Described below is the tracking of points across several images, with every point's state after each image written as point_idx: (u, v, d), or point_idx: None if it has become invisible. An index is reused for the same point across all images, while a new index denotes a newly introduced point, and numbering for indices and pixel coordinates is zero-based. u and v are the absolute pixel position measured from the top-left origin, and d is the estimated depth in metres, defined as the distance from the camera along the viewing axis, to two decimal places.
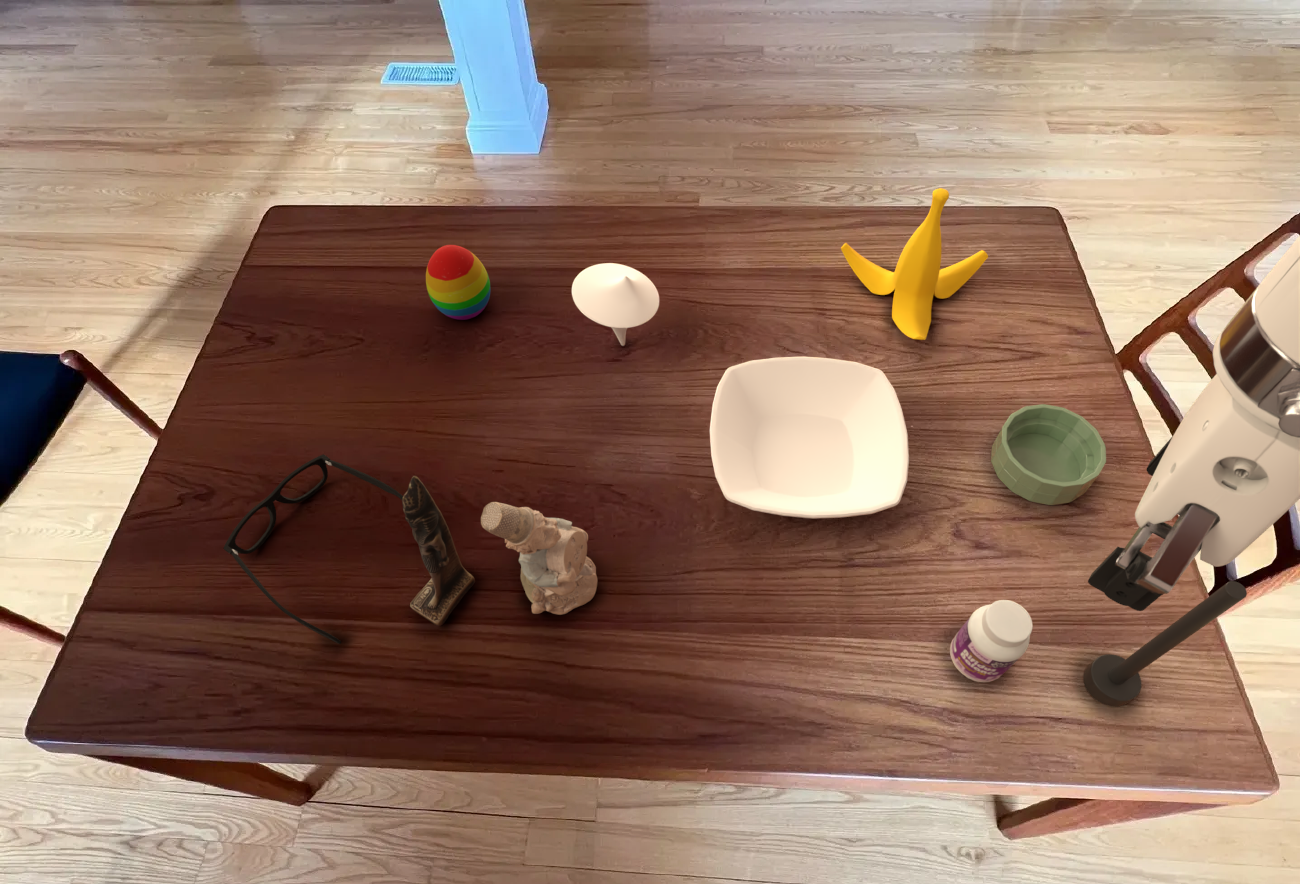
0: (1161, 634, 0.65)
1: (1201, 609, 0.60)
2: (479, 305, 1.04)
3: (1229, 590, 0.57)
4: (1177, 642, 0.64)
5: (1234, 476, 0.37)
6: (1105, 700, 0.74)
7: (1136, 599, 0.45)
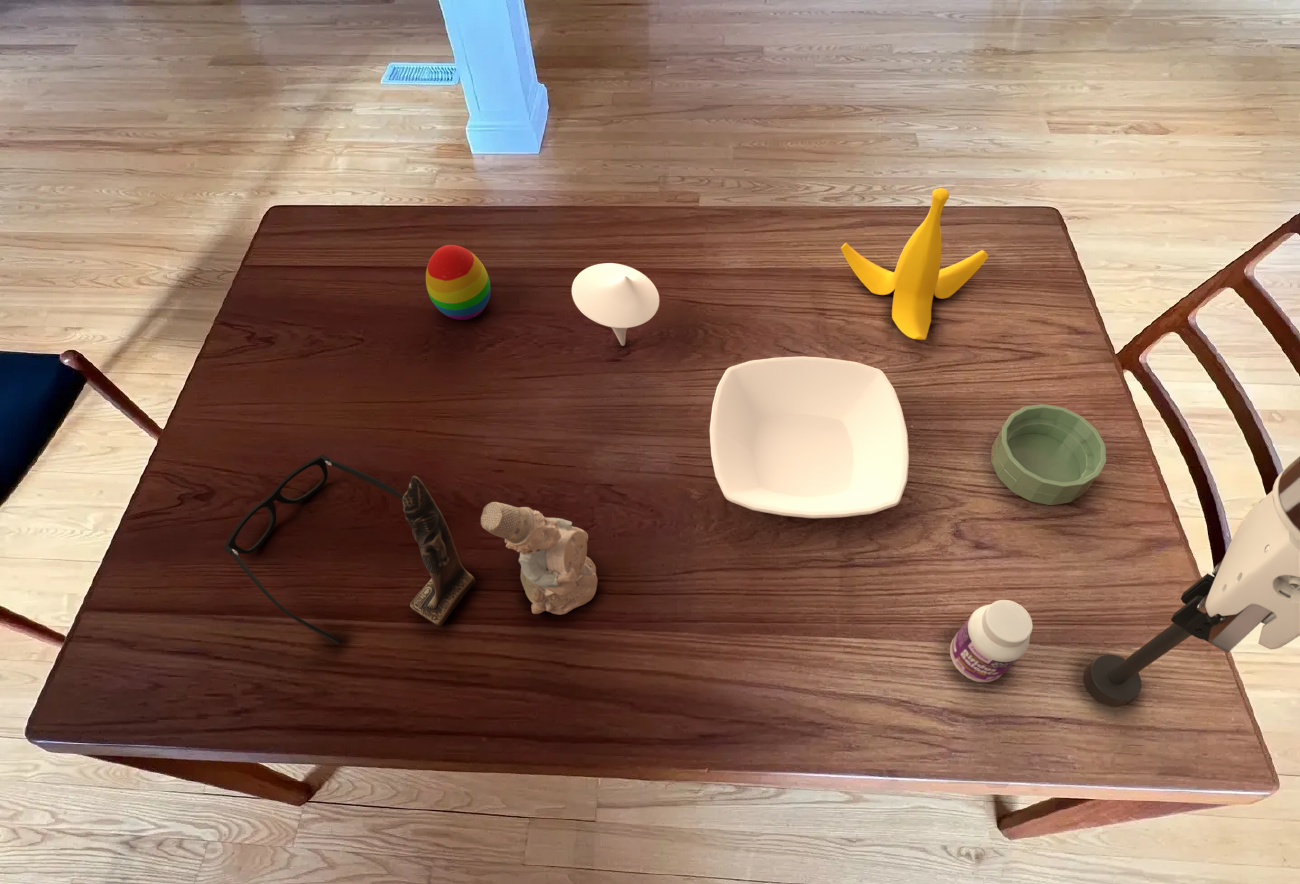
0: (1161, 634, 0.65)
1: None
2: (479, 305, 1.04)
3: None
4: (1177, 642, 0.64)
5: (1288, 586, 0.49)
6: (1105, 700, 0.74)
7: None
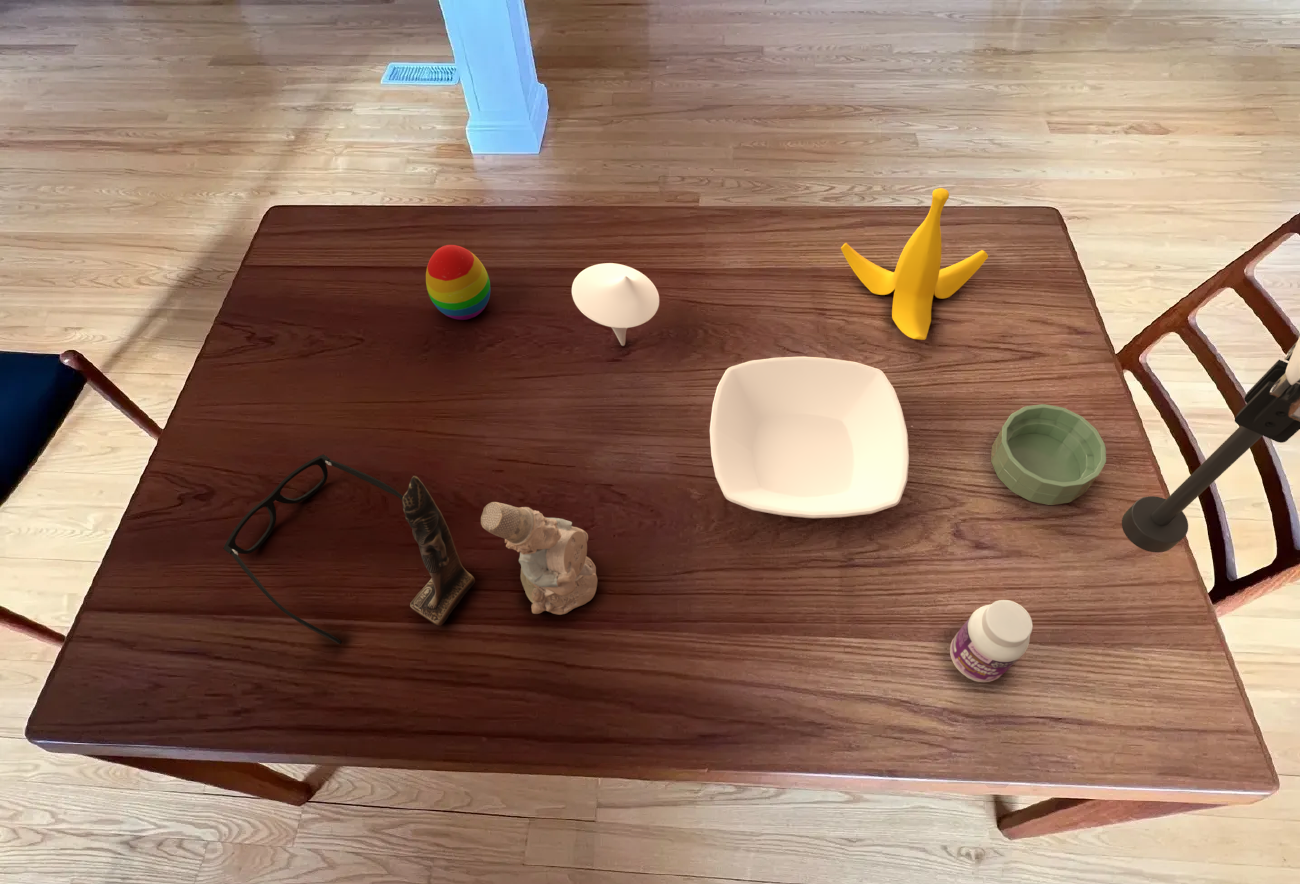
0: (1218, 449, 0.58)
1: None
2: (479, 305, 1.04)
3: None
4: (1238, 454, 0.57)
5: None
6: (1148, 544, 0.66)
7: (1284, 427, 0.51)
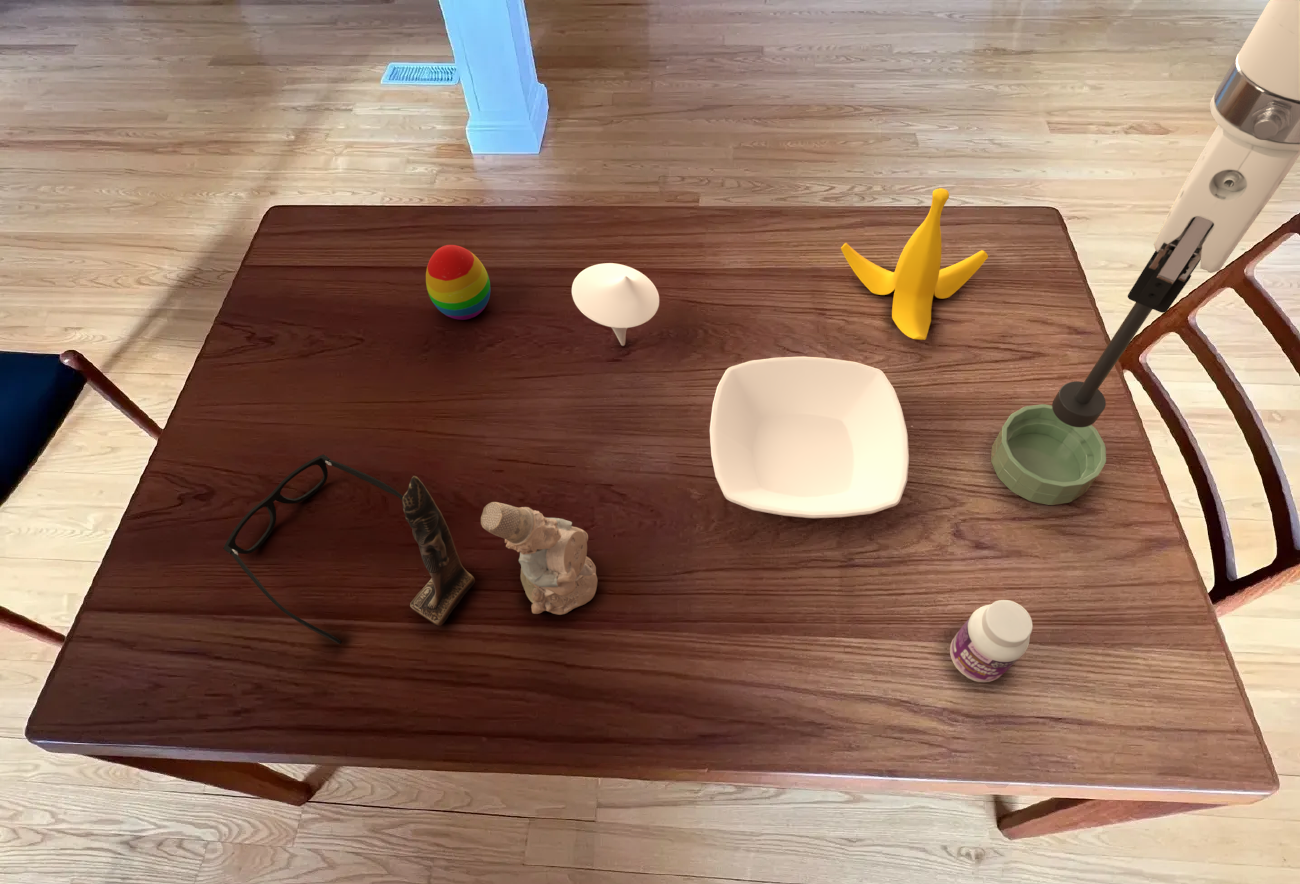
0: (1120, 326, 0.71)
1: None
2: (479, 305, 1.04)
3: None
4: (1134, 328, 0.69)
5: (1224, 191, 0.54)
6: (1072, 419, 0.79)
7: (1162, 297, 0.64)
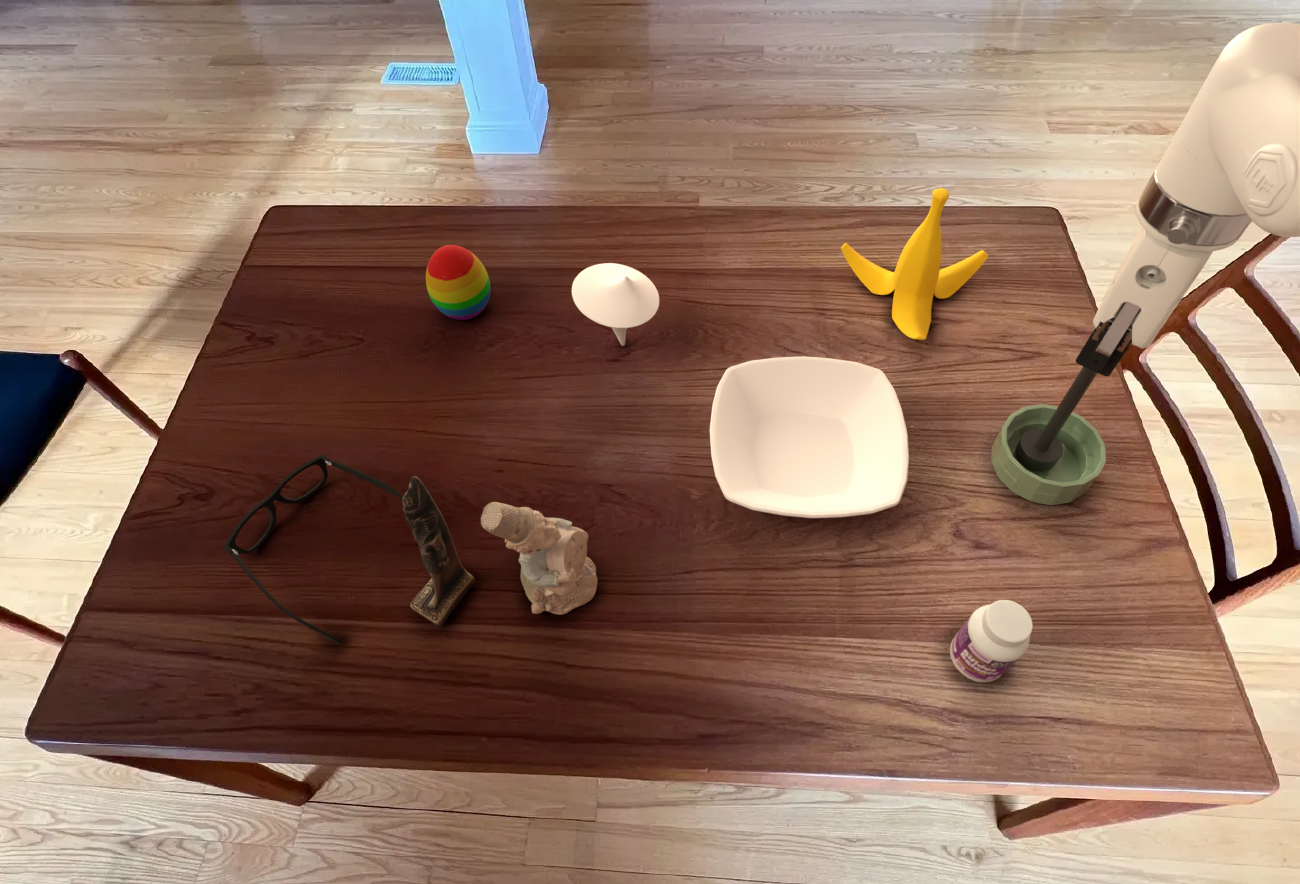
0: (1071, 385, 0.78)
1: None
2: (479, 305, 1.04)
3: None
4: (1083, 388, 0.77)
5: (1148, 281, 0.62)
6: (1032, 465, 0.86)
7: (1105, 364, 0.72)
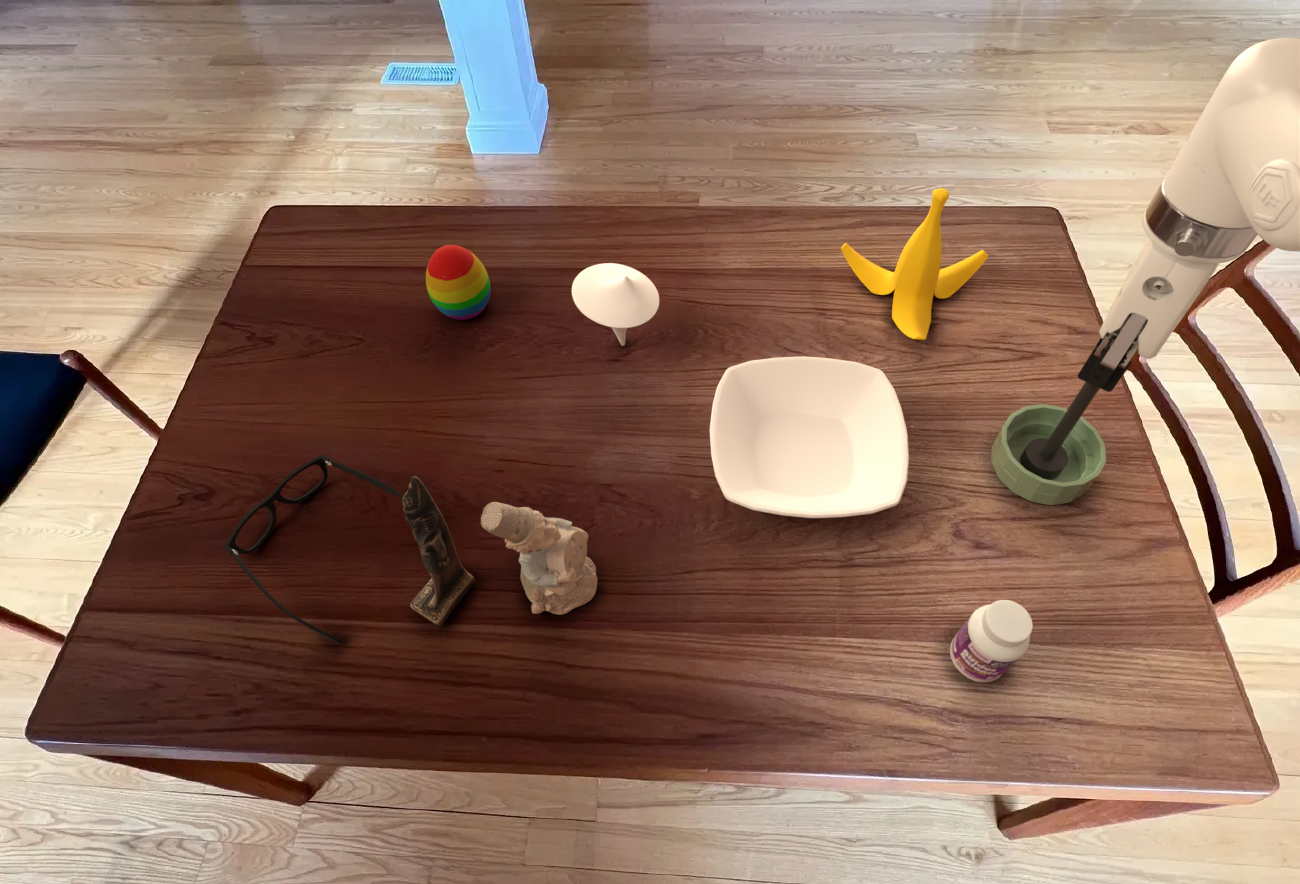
0: (1077, 395, 0.79)
1: None
2: (479, 305, 1.04)
3: None
4: (1089, 398, 0.78)
5: (1155, 293, 0.62)
6: (1037, 473, 0.87)
7: (1107, 379, 0.72)
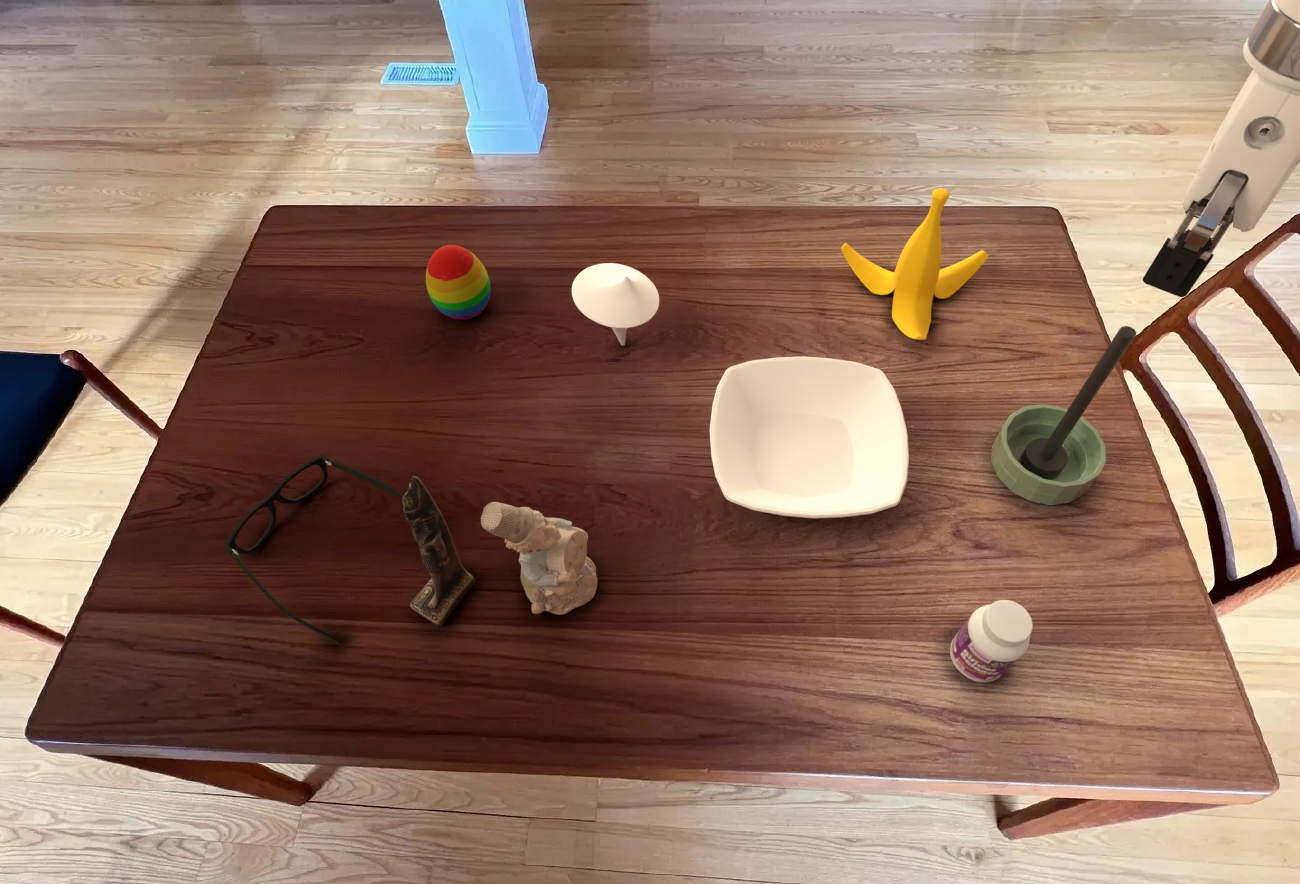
0: (1077, 395, 0.79)
1: (1103, 357, 0.74)
2: (479, 305, 1.04)
3: (1122, 332, 0.71)
4: (1089, 398, 0.78)
5: (1259, 141, 0.51)
6: (1037, 473, 0.87)
7: (1182, 279, 0.58)
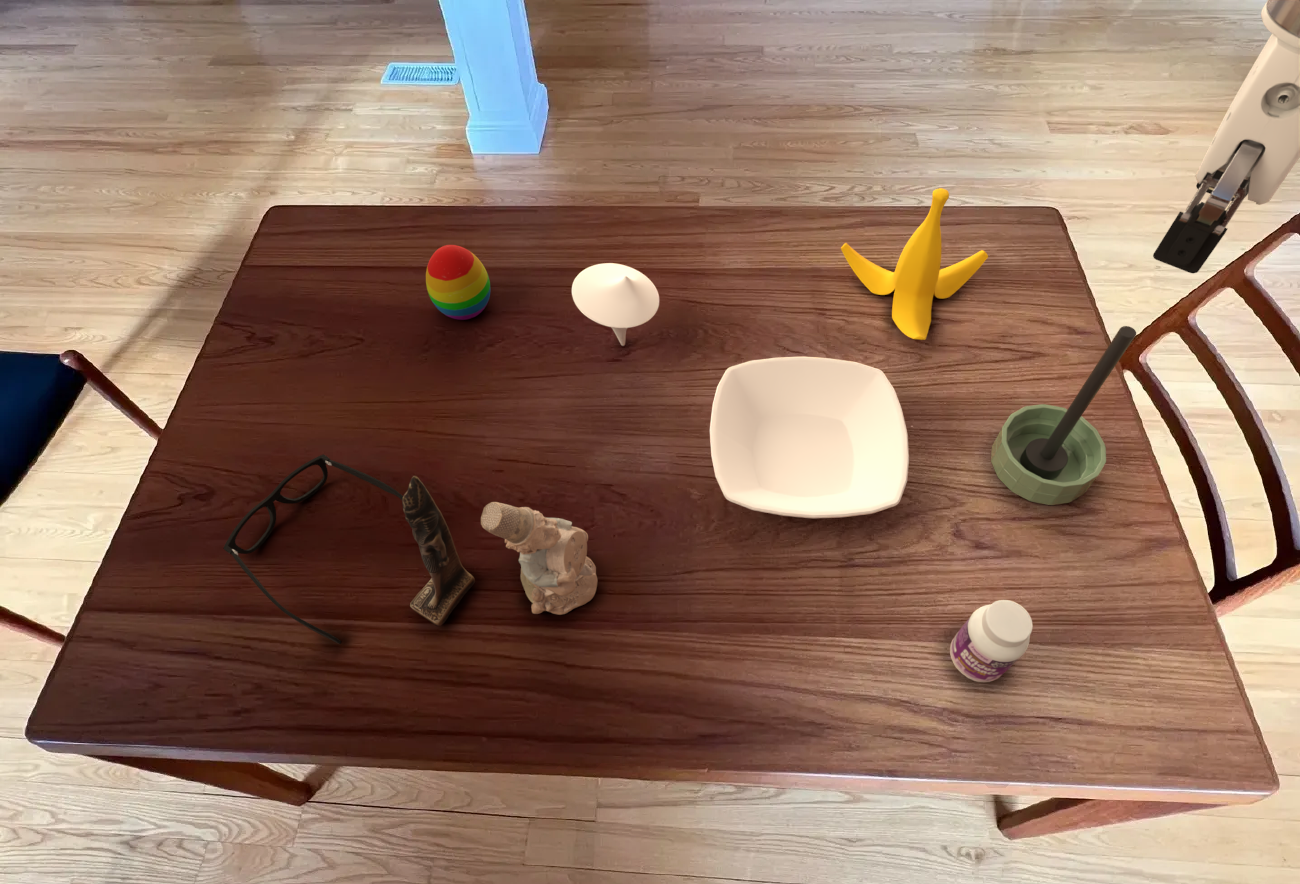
0: (1077, 395, 0.79)
1: (1103, 357, 0.74)
2: (479, 305, 1.04)
3: (1122, 332, 0.71)
4: (1089, 398, 0.78)
5: (1277, 109, 0.49)
6: (1037, 473, 0.87)
7: (1194, 254, 0.57)
